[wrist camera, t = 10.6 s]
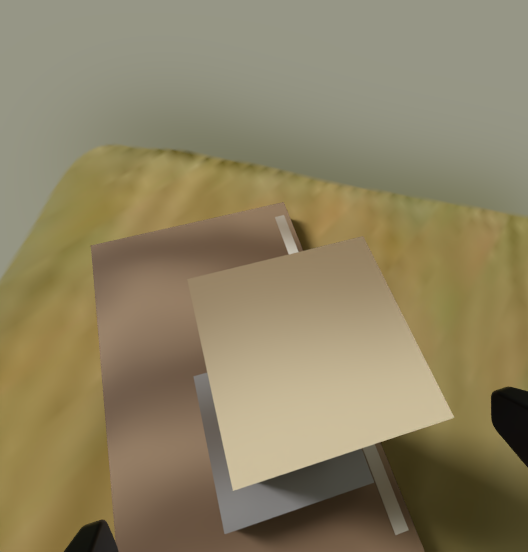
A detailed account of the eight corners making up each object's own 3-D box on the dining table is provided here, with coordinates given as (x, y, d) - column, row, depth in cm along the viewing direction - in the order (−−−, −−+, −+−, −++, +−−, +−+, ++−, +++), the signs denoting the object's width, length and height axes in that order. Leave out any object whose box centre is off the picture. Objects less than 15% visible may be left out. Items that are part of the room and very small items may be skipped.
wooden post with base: (362, 481, 16) (607, 497, 5) (228, 527, 15) (135, 679, 4) (315, 352, 19) (399, 165, 7) (199, 385, 18) (95, 232, 7)
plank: (424, 577, 16) (439, 586, 14) (142, 689, 14) (129, 711, 13) (282, 216, 25) (283, 201, 24) (100, 258, 23) (90, 245, 22)
